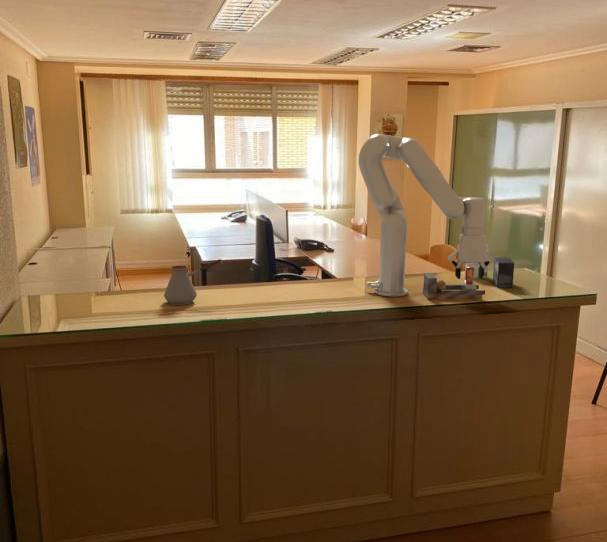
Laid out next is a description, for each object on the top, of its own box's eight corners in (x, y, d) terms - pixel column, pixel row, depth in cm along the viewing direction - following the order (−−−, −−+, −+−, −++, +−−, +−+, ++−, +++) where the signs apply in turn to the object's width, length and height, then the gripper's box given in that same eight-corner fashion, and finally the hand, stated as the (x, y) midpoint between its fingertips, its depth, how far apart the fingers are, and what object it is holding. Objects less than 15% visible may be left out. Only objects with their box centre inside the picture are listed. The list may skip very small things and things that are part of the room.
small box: (491, 281, 247) (493, 256, 244) (507, 282, 246) (510, 257, 243) (496, 288, 236) (498, 262, 234) (513, 288, 235) (515, 262, 233)
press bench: (427, 299, 219) (428, 278, 217) (422, 293, 227) (423, 272, 226) (484, 300, 219) (486, 278, 217) (477, 293, 228) (479, 273, 226)
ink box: (484, 276, 256) (487, 242, 252) (487, 278, 251) (489, 244, 247) (464, 275, 256) (466, 241, 253) (466, 278, 252) (468, 243, 248)
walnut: (435, 292, 221) (435, 281, 220) (432, 289, 225) (433, 278, 224) (446, 292, 221) (447, 281, 220) (444, 289, 225) (444, 278, 224)
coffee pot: (165, 308, 206) (163, 265, 203) (163, 299, 217) (161, 259, 213) (226, 303, 212) (225, 262, 209) (221, 295, 223) (220, 255, 220)
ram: (465, 292, 220) (466, 269, 218) (460, 288, 226) (462, 265, 224) (475, 292, 220) (477, 269, 218) (471, 288, 226) (472, 265, 224)
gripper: (451, 233, 214) (448, 280, 218) (499, 233, 214) (495, 280, 218) (446, 229, 221) (443, 275, 225) (492, 229, 221) (489, 275, 225)
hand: (469, 277), depth 222 cm, fingers open, 7 cm apart
